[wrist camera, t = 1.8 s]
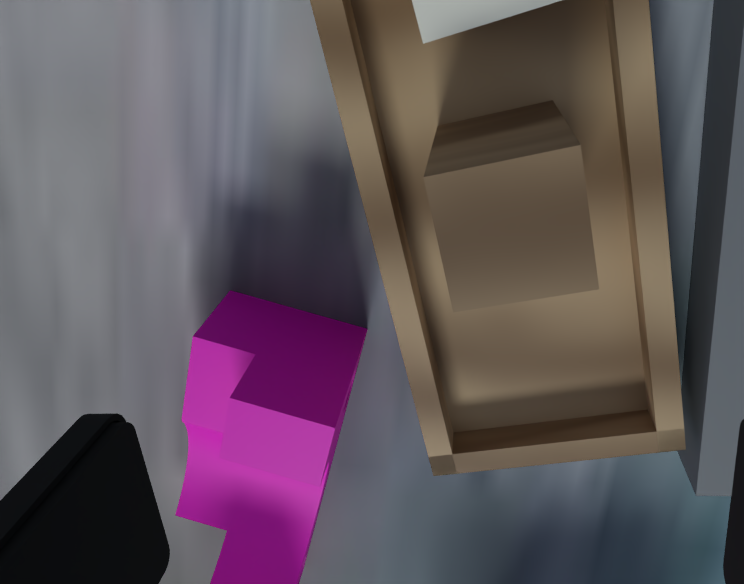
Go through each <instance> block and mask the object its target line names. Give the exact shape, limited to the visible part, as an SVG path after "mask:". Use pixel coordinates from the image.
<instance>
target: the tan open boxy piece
mask: <svg viewBox="0 0 744 584" xmlns="http://www.w3.org/2000/svg"><path fill="white" fill-rule="evenodd" d="M310 2H311V6H312V10H313V14H314V17H315V21H316V25H317V29H318V33H319V37H320V40H321V44H322V48H323V52H324V56H325V60H326V64H327V67H328V71H329V75H330V79H331V83H332V87H333V91H334V94H335V98H336V102H337V106H338V110H339V114H340V118H341V121H342V125H343V129H344V133H345V137H346V141H347V145H348V148H349V152H350V156H351V160H352V164H353V168H354V172H355V175H356V179H357V183H358V187H359V191H360V195H361V199H362V202H363V206H364V210H365V214H366V218H367V222H368V225H369V229H370V233H371V237H372V241H373V245H374V249H375V252H376V256H377V260H378V264H379V268H380V272H381V276H382V279H383V283H384V287H385V291H386V295H387V299H388V303H389V306H390V310H391V314H392V318H393V322H394V326H395V330H396V333H397V337H398V341H399V345H400V349H401V353H402V357H403V360H404V364H405V368H406V372H407V376H408V380H409V384H410V387H411V391H412V395H413V399H414V403H415V407H416V410H417V414H418V418H419V422H420V426H421V430H422V434H423V437H424V441H425V445H426V449H427V453H428V457H429V461H430V464H431V468H432V472H433V476H439V475H448V474H458V473H467V472H477V471H486V470H496V469H506V468H515V467H525V466H534V465H544V464H553V463H563V462H572V461H582V460H592V459H601V458H611V457H620V456H630V455H639V454H649V453H658V452H668V451H678V450H686V444H685V431H684V419H683V407H682V395H681V383H680V371H679V359H678V347H677V335H676V323H675V311H674V299H673V287H672V275H671V263H670V251H669V239H668V227H667V214H666V202H665V190H664V178H663V166H662V154H661V142H660V130H659V118H658V106H657V94H656V82H655V70H654V58H653V46H652V34H651V22H650V9H649V0H562V1H559V2H555V3H552V4H549V5H546V6H543V7H539V8H536V9H533V10H530V11H527V12H523V13H520V14H517V15H514V16H511V17H507V18H504V19H501V20H498V21H495V22H491V23H488V24H485V25H482V26H479V27H475V28H472V29H469V30H466V31H463V32H459V33H456V34H453V35H450V36H447V37H443V38H440V39H437V40H434V41H431V42H427V43H424V44H423V41H422V37H421V34H420V30H419V26H418V22H417V18H416V14H415V11H414V7H413V3H412V0H310Z"/></svg>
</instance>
